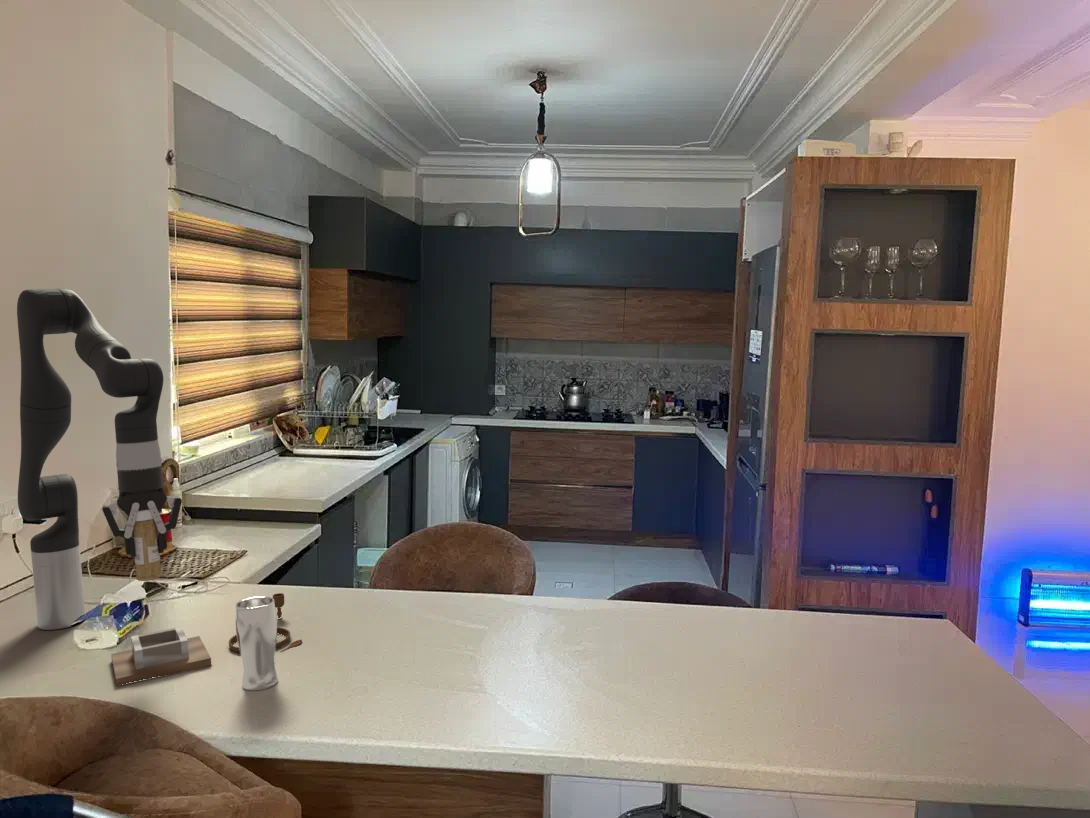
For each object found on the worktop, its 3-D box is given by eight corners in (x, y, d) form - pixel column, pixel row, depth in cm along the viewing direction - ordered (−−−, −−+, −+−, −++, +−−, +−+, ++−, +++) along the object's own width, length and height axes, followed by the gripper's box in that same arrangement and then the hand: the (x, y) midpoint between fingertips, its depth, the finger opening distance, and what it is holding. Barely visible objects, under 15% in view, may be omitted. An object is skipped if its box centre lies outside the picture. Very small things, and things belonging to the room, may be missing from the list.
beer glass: (242, 695, 141) (236, 611, 140) (237, 680, 148) (231, 600, 146) (283, 686, 145) (278, 604, 143) (277, 672, 151) (272, 593, 149)
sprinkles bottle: (164, 578, 154) (157, 508, 153) (137, 583, 152) (130, 512, 151) (160, 573, 158) (154, 505, 157) (134, 578, 156) (127, 508, 155)
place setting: (205, 649, 165) (203, 621, 164) (277, 617, 183) (276, 592, 182) (269, 662, 157) (267, 633, 157) (339, 628, 175) (337, 601, 174)
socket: (111, 661, 159) (109, 636, 158) (199, 643, 167) (198, 619, 166) (116, 686, 147) (114, 659, 146) (211, 665, 155) (209, 640, 155)
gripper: (178, 459, 160) (185, 544, 161) (95, 467, 153) (103, 556, 154) (183, 463, 153) (190, 552, 155) (96, 472, 146) (105, 565, 148)
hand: (146, 554), depth 154 cm, fingers closed on sprinkles bottle, 4 cm apart
